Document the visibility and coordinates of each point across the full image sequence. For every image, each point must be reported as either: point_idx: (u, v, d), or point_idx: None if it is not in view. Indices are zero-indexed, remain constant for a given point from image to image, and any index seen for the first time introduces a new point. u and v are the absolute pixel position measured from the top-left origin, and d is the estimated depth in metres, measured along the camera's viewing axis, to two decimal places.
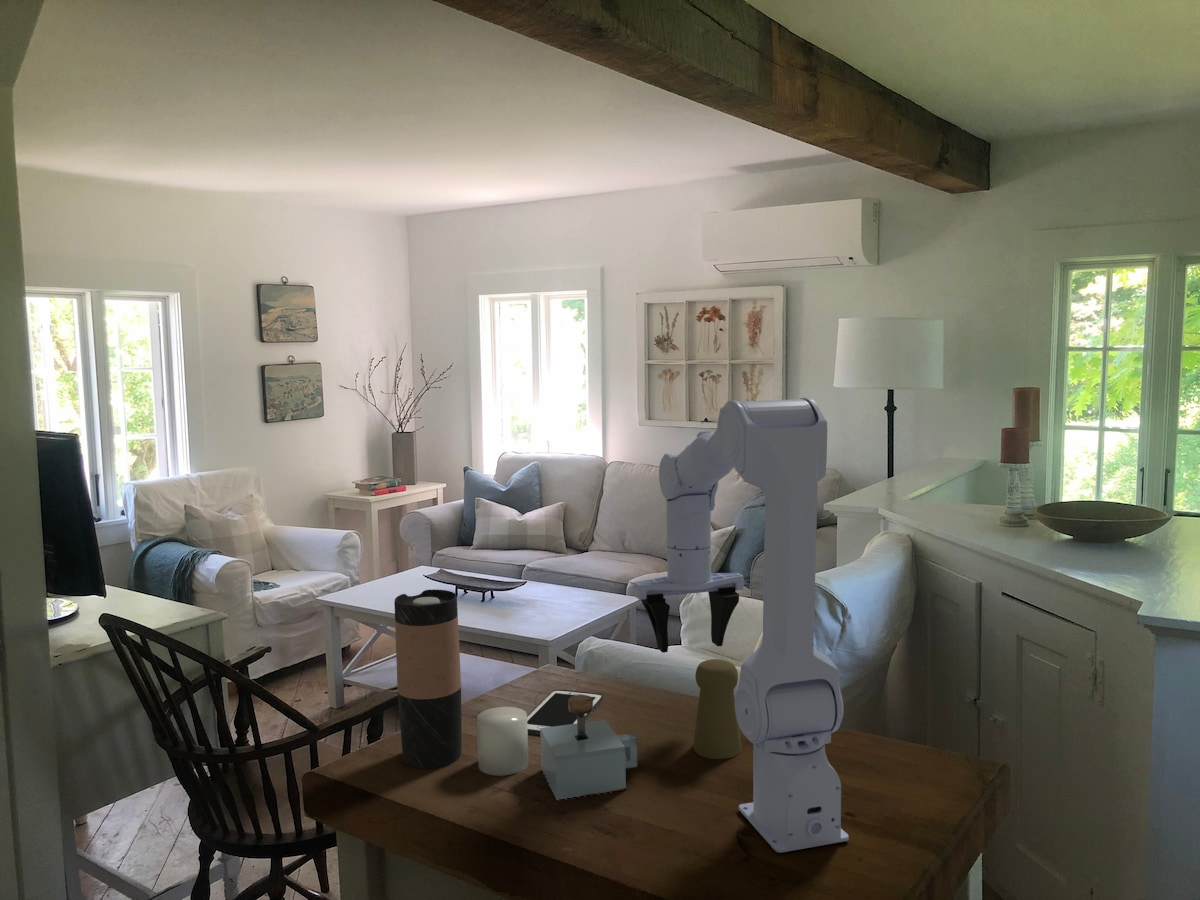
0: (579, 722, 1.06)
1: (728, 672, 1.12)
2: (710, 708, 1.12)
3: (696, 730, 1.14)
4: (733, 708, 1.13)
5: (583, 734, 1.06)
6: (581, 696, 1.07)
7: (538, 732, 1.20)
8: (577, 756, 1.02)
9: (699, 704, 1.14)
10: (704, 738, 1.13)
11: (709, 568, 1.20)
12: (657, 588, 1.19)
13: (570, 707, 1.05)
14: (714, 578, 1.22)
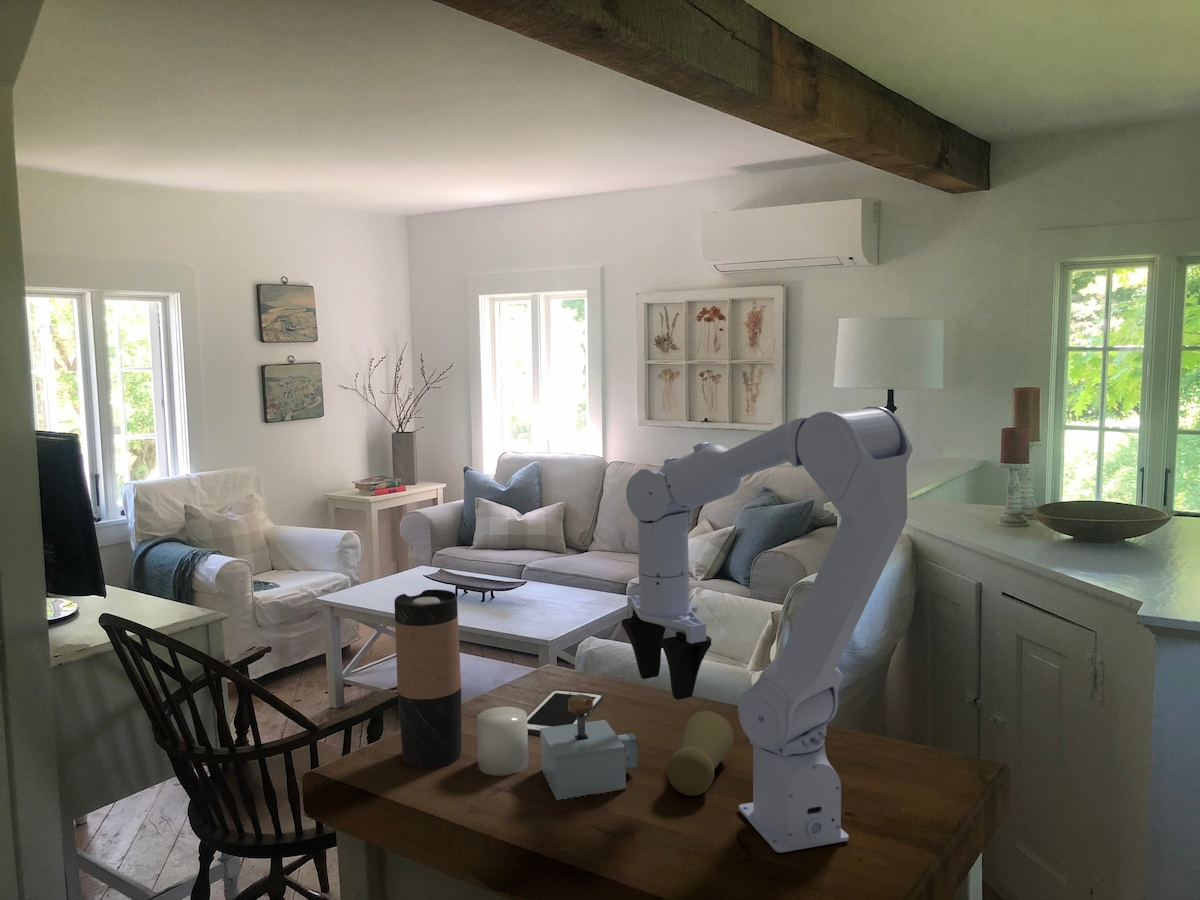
0: (579, 722, 1.06)
1: (705, 789, 1.02)
2: None
3: None
4: (717, 762, 1.06)
5: (583, 734, 1.06)
6: (581, 696, 1.07)
7: (538, 732, 1.20)
8: (577, 756, 1.02)
9: None
10: None
11: (658, 601, 1.04)
12: (633, 605, 1.11)
13: (570, 707, 1.05)
14: (678, 618, 1.04)
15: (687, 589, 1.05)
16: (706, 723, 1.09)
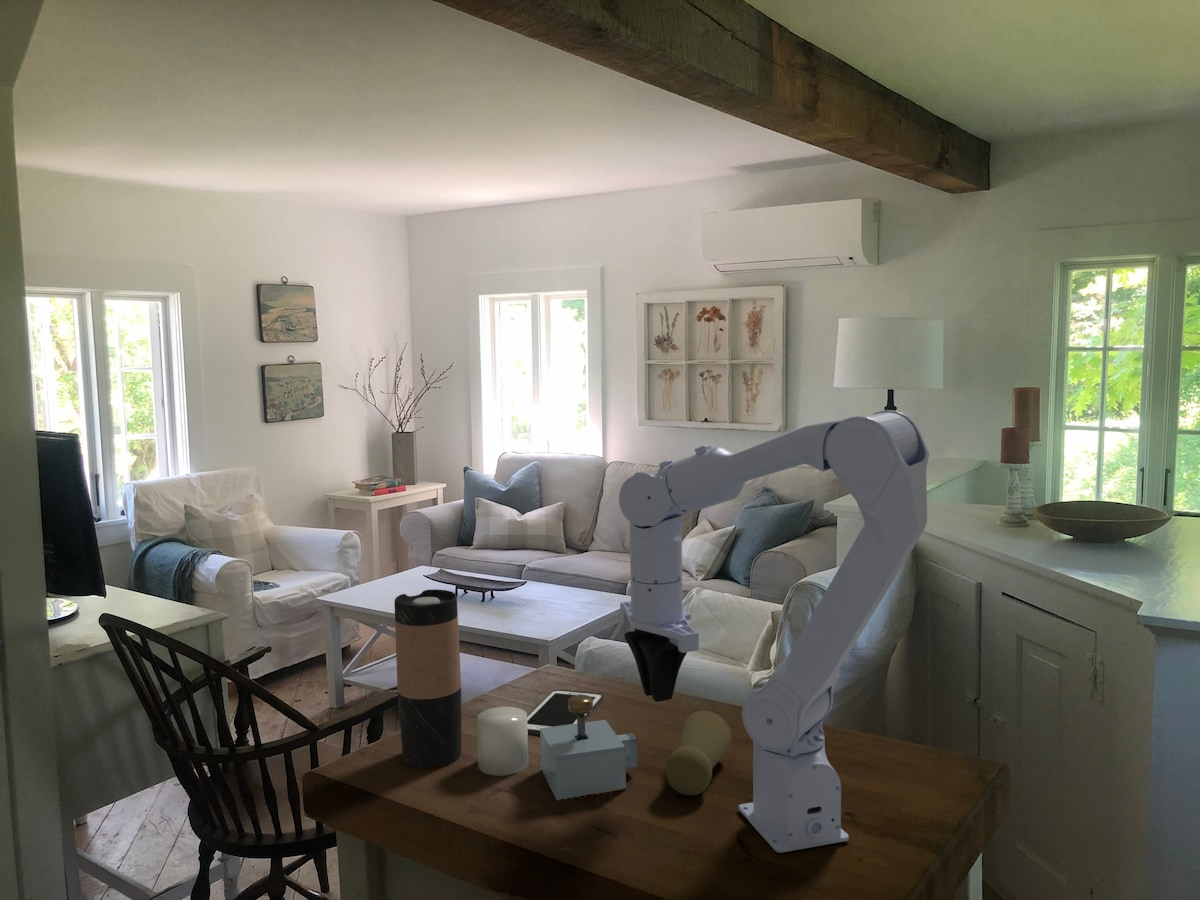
0: (579, 722, 1.06)
1: (704, 787, 1.02)
2: None
3: None
4: (715, 760, 1.06)
5: (583, 734, 1.06)
6: (581, 696, 1.07)
7: (538, 732, 1.20)
8: (577, 756, 1.02)
9: None
10: None
11: (649, 609, 1.01)
12: (625, 612, 1.07)
13: (570, 707, 1.05)
14: (671, 626, 1.00)
15: (680, 596, 1.02)
16: (701, 722, 1.09)
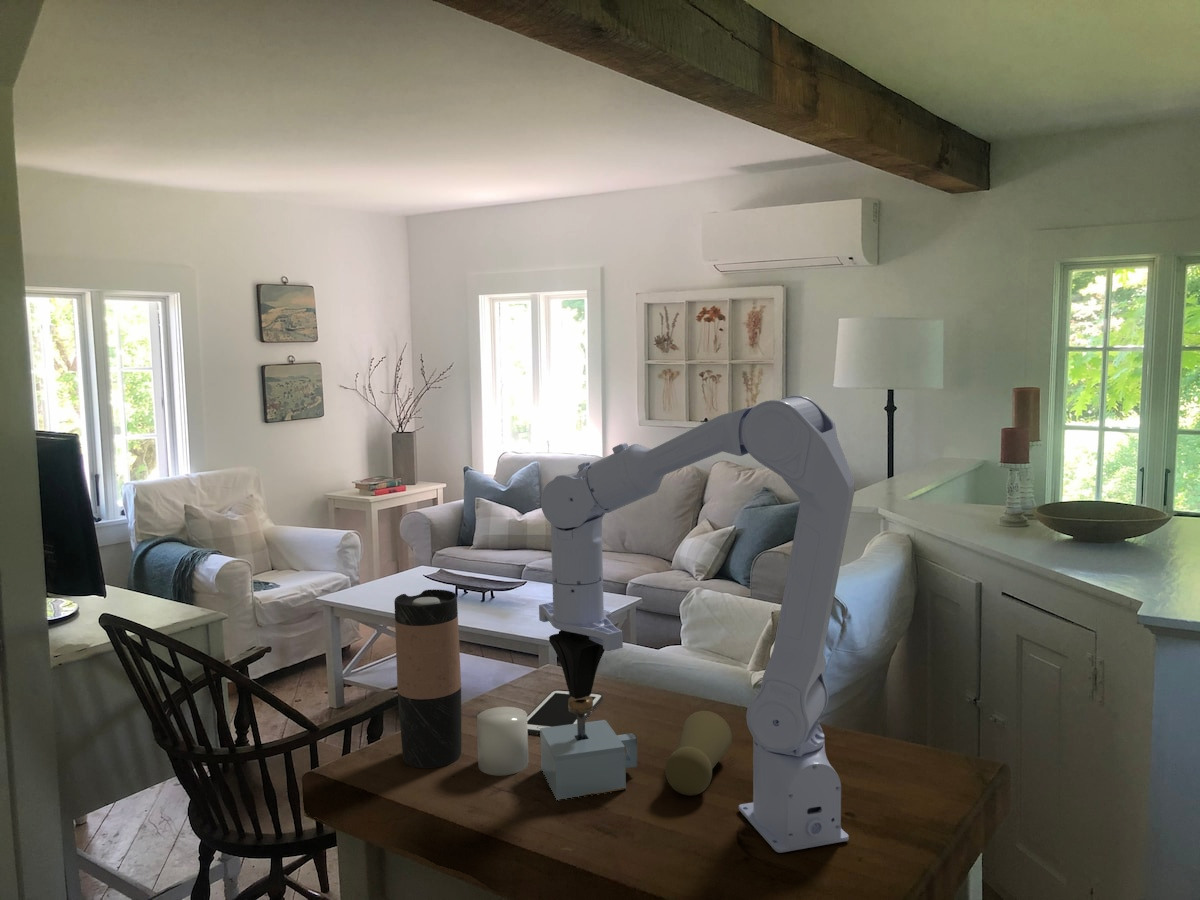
0: (579, 722, 1.06)
1: (704, 787, 1.02)
2: None
3: None
4: (715, 760, 1.06)
5: (583, 734, 1.06)
6: None
7: (538, 732, 1.20)
8: (577, 756, 1.02)
9: None
10: None
11: (573, 609, 1.02)
12: (545, 614, 1.08)
13: (570, 707, 1.05)
14: (594, 626, 1.02)
15: (602, 596, 1.04)
16: (702, 722, 1.09)
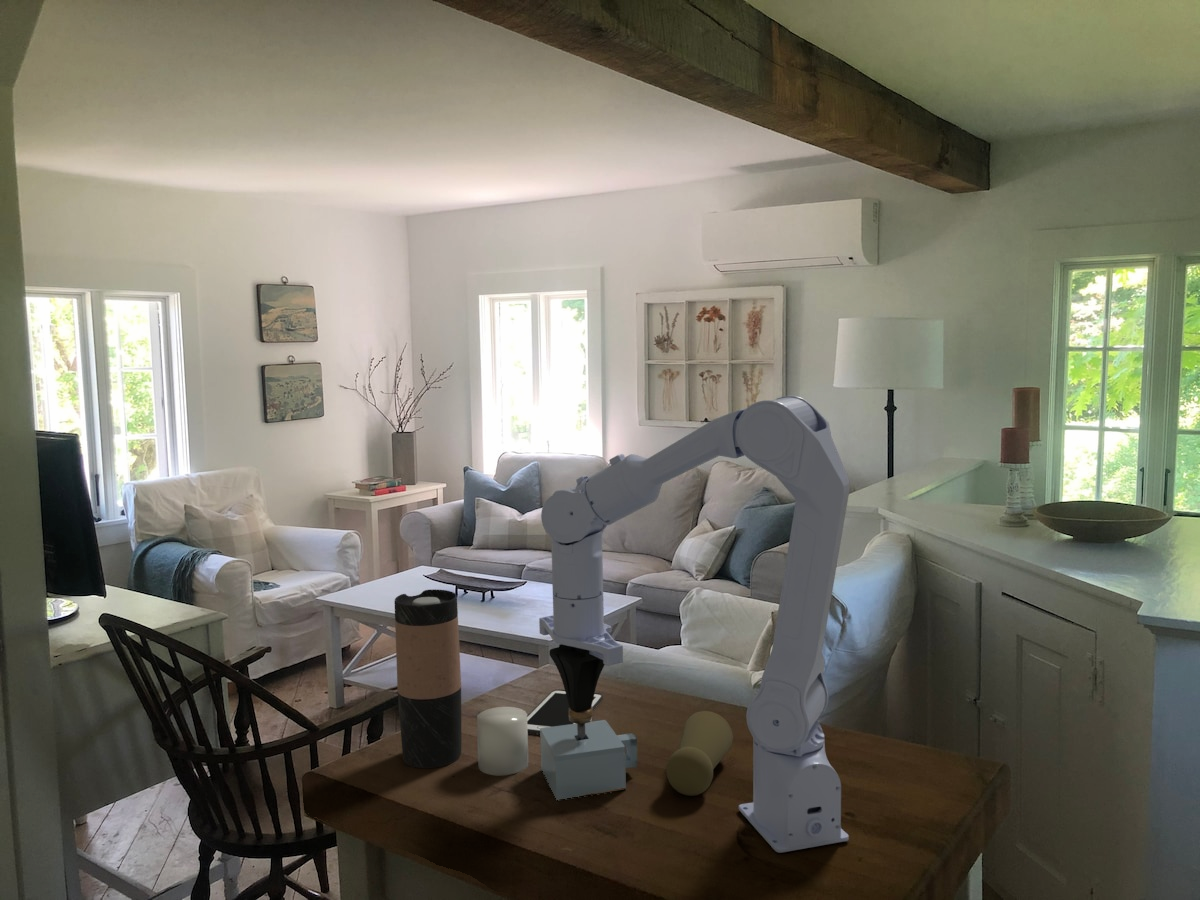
0: (579, 731, 1.06)
1: (704, 788, 1.02)
2: None
3: None
4: (716, 761, 1.06)
5: None
6: None
7: (538, 732, 1.20)
8: (577, 756, 1.02)
9: None
10: None
11: (573, 624, 1.02)
12: (545, 627, 1.09)
13: (570, 716, 1.06)
14: (594, 640, 1.02)
15: (602, 610, 1.04)
16: (704, 723, 1.09)
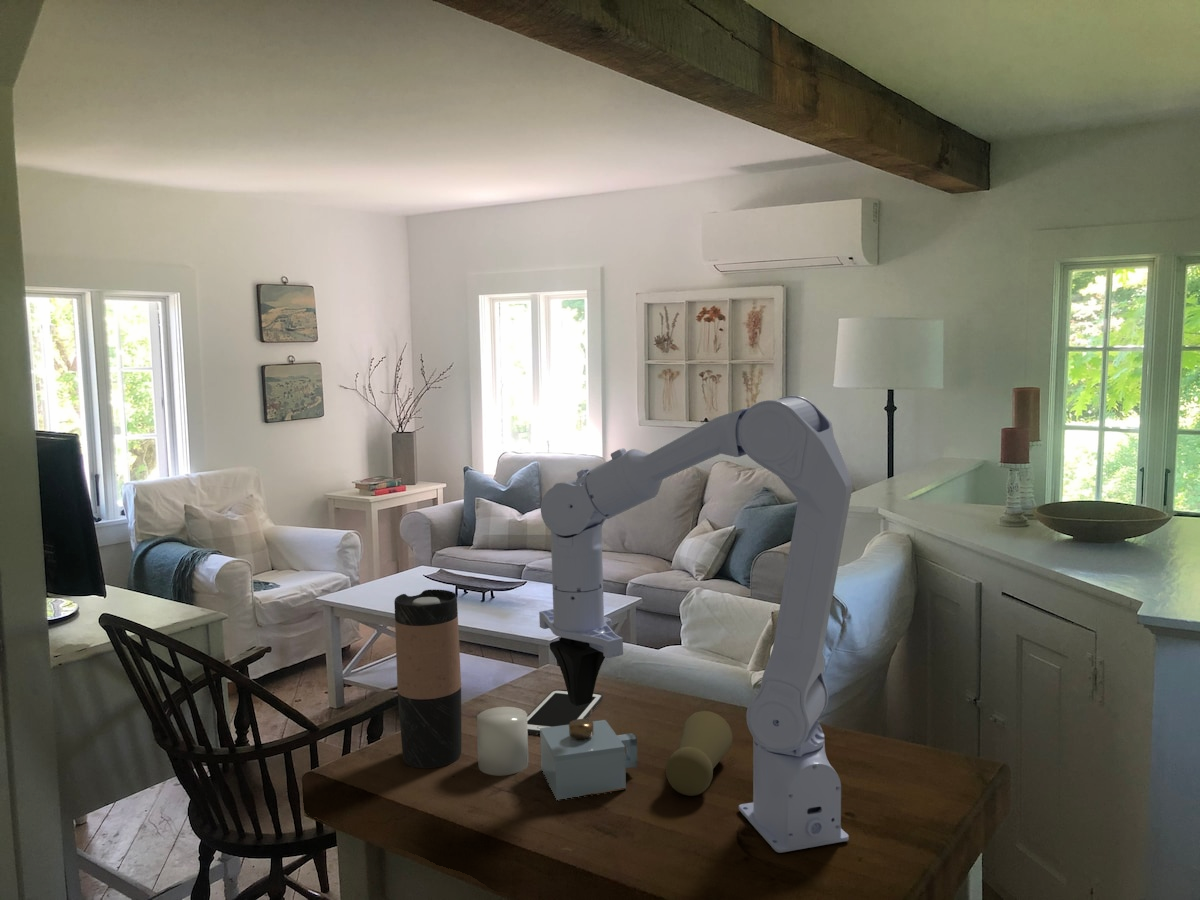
0: None
1: (704, 788, 1.02)
2: None
3: None
4: (716, 761, 1.06)
5: None
6: (582, 720, 1.07)
7: (538, 732, 1.20)
8: (577, 756, 1.02)
9: None
10: None
11: (573, 617, 1.02)
12: (545, 620, 1.09)
13: (571, 732, 1.06)
14: (594, 633, 1.02)
15: (602, 603, 1.04)
16: (703, 722, 1.09)
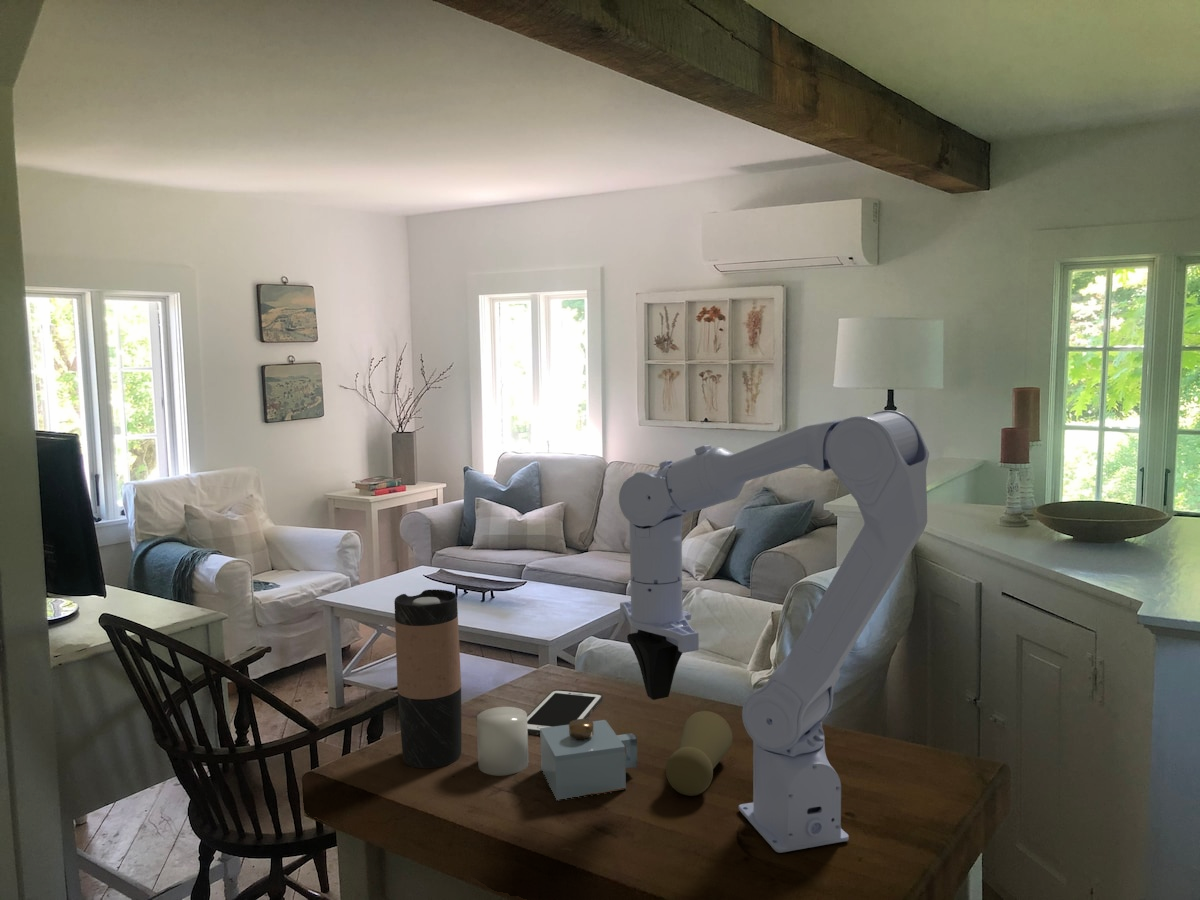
0: None
1: (704, 788, 1.02)
2: None
3: None
4: (716, 761, 1.06)
5: None
6: (582, 720, 1.07)
7: (538, 732, 1.20)
8: (577, 756, 1.02)
9: None
10: None
11: (649, 609, 1.01)
12: (625, 612, 1.07)
13: (571, 732, 1.06)
14: (670, 626, 1.00)
15: (680, 596, 1.02)
16: (703, 723, 1.09)
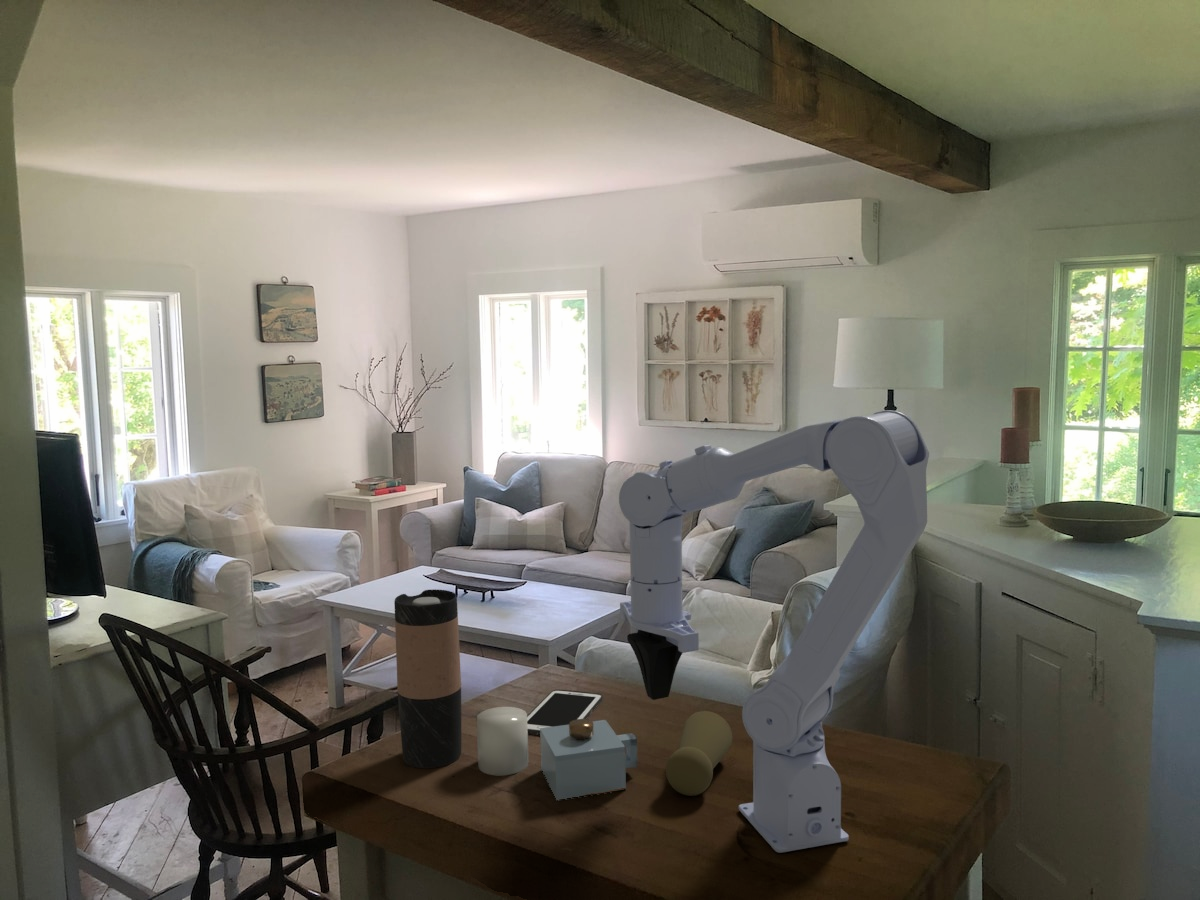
0: None
1: (704, 788, 1.02)
2: None
3: None
4: (716, 761, 1.06)
5: None
6: (582, 720, 1.07)
7: (539, 732, 1.20)
8: (577, 756, 1.02)
9: None
10: None
11: (649, 609, 1.01)
12: (625, 612, 1.07)
13: (571, 732, 1.06)
14: (670, 626, 1.00)
15: (680, 596, 1.02)
16: (703, 723, 1.09)
